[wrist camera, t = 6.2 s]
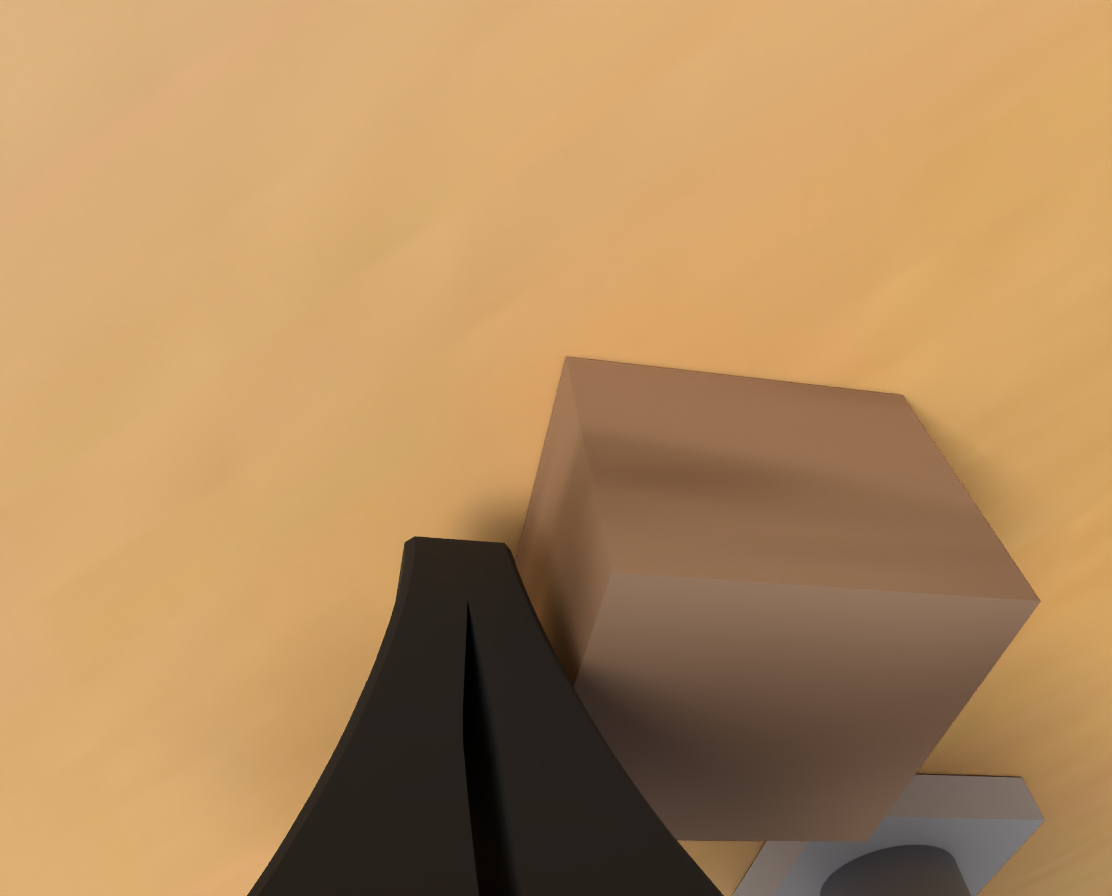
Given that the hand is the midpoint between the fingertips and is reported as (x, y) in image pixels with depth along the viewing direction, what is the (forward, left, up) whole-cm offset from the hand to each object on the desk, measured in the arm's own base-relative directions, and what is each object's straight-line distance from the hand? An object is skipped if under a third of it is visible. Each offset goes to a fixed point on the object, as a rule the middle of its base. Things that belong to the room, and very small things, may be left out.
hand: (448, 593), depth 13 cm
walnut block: (0, -4, -2) cm, 4 cm away
